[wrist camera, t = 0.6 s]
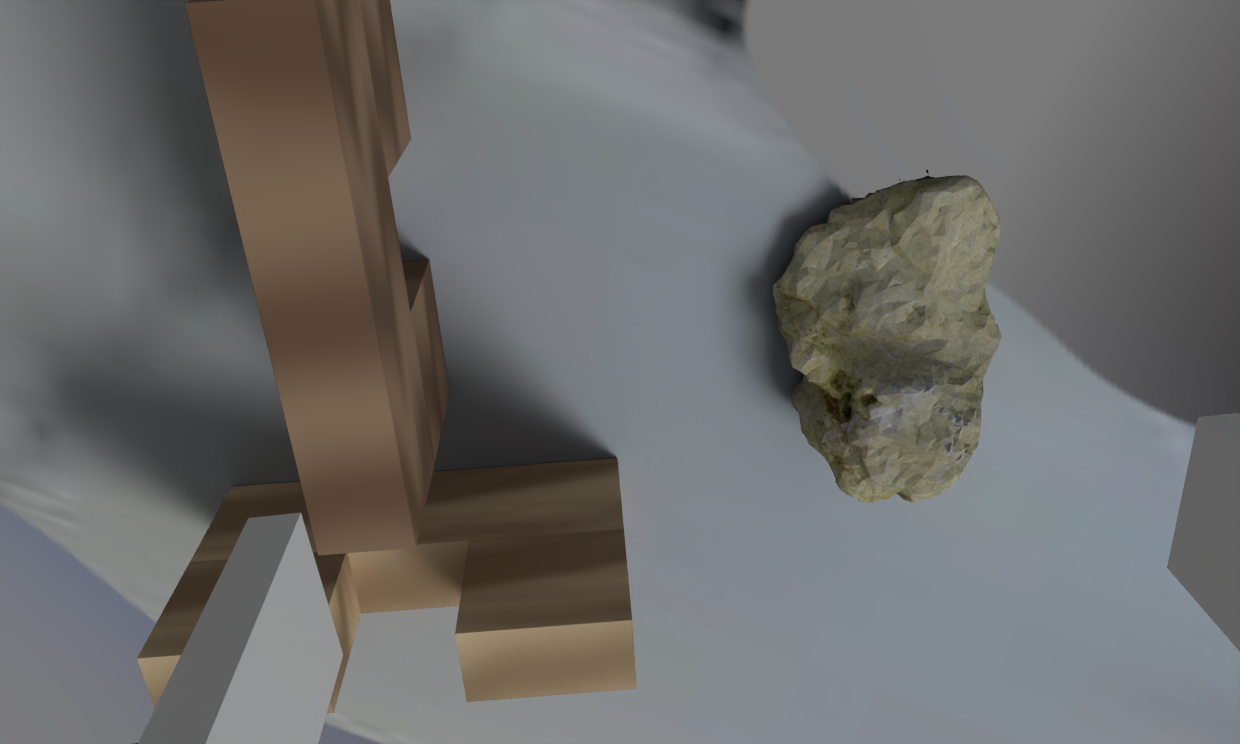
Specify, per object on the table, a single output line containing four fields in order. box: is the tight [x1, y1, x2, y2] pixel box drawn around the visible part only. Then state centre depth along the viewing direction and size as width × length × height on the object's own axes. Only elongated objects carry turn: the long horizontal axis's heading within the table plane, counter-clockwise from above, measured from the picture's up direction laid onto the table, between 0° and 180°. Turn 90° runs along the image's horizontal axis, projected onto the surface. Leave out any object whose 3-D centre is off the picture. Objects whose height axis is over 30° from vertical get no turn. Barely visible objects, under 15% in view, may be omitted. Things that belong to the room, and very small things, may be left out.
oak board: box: [137, 458, 636, 713], centre depth 37 cm, size 3×16×10 cm, turn 93°
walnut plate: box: [185, 0, 450, 555], centre depth 31 cm, size 16×3×10 cm, turn 3°
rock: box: [772, 170, 1001, 503], centre depth 36 cm, size 11×6×10 cm
